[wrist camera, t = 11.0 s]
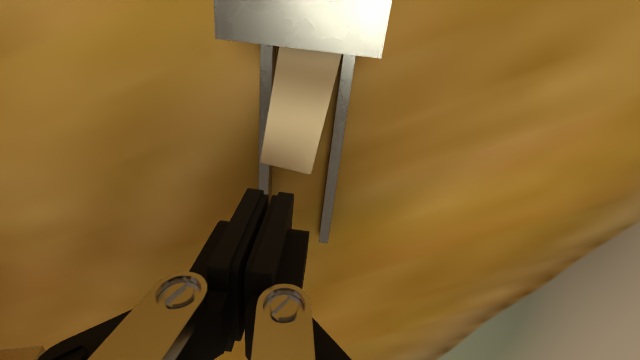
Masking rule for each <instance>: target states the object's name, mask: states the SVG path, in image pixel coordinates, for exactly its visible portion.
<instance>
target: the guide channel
mask: <svg viewBox="0 0 640 360" xmlns="http://www.w3.org/2000/svg"><path fill="white" fill-rule="evenodd" d="M276 49H277V46H273V45H265V44H261V51H260V122H259V190H263V191H264V194H268V195H269V203H270V200H271V186H272V165H268V164H264V163H260V160H261V154H262V148H263V142H264V136H265V130H266V124H267V118H268V112H269V106H270V100H271V94H272V87H273V81H274V75H275V69H276ZM355 57H356V55H348V54H343V58H342V66H341V73H340V81H339V88H338V96H337V104H336V111H335V119H334V126H333V134H332V142H331V149H330V157H329V165H328V172H327V180H326V187H325V195H324V203H323V210H322V218H321V226H320V234H319V242H322V243H328V237H329V230H330V224H331V217H332V210H333V204H334V197H335V190H336V184H337V177H338V170H339V164H340V157H341V150H342V143H343V137H344V130H345V123H346V117H347V110H348V103H349V97H350V90H351V83H352V77H353V70H354V63H355Z"/></svg>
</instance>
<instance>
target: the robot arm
mask: <svg viewBox="0 0 640 360" xmlns="http://www.w3.org/2000/svg"><path fill="white" fill-rule="evenodd" d="M293 202H294V194H292V193H283V192H279V193H278V195H277V196H276V195H272V198H271V200H270V203H269V195H268V194H264V191H263V190H259V189H251V188H248V189H247V190H246V192H245V194H244V196H243V198H242V200H241V202H240V203H239V205H238V207H237V209H236V211H235V213H234V215H233V217H232V218H231V220H230V222H229V221H219V222H218V223H217V225H216V227H215V228H214V230H213V232H212V233H211V235H210V237H209V239H208V240H207V242H206V244H205V245H204V247H203V249H202V251H201V252H200V254H199V256H198V257H197V259H196V261H195V262H194V264H193V266H192V268H191V269H190V271H189V272H177V273H174V274H171V275H168V276H166V277H165V278H163V279H161V280H160V281H159V282H157V283H156V284H155V285H154V286H153V287H152V288H151V290H150V291H149V292H148V293H147V294H146V295H145V296H144V297H143V298H142V300H141V301H140V302H139V303H138V304H137V305H136V306H135V307H134V308H133V309H132V310H130V311H128V312H126V313H123V314H121V315H119V316H117V317H114V318H112V319H110V320H108V321H106V322H103V323H101V324H99V325H97V326H95V327H92V328H90V329H88V330H86V331H83V332H81V333H79V334H77V335H75V336H72V337H70V338H68V339H66V340H64V341H62V342H60V343H58V344H56V345H54V346H53V347H51V348H49V349H48V350H45V349H44V347H43V346H35V347H24V348H14V349H3V350H0V360H214V359H215V358H217V357H218V356H220V355H221V354H223V353H224V351H229V352H231V351H232V348H233V345H234V342H235V341H241V339H242V336H243V332H244V329H245V356H246V357H247V359H248V360H351V359H350V358H349V356H348V355H347V354H346V353H345V352H344V351H343V350H342V349H341V348H340V347H339V346H338V345H337V344H336V342H335V341H334V340H333V339H332V338H331V337H330V336H329V335H328V334H327V333H326V332H325V331H324V330H323V328H322V327H321V326H320V325H319V324H318V323H317V322H316V321H315V320H314V319H313V318H312V310H311V302H310V299H309V297H308V295H307V294H306V292H305V291H303V290H302V287H303V280H304V273H305V266H306V258H307V250H308V241H309V231H302V230H294V229H291V228H292V215H293Z"/></svg>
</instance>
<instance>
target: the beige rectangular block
mask: <svg viewBox="0 0 640 360" xmlns="http://www.w3.org/2000/svg"><path fill="white" fill-rule="evenodd" d="M341 55H342V54H340V53H332V52H323V51H315V50H307V49H298V48H290V47H282V46H279V51H278V57H277V63H276V69H275V75H274V81H273V87H272V94H271V100H270V106H269V112H268V118H267V124H266V130H265V136H264V142H263V148H262V154H261V160H260V163H264V164H268V165H272V166H277V167H281V168H285V169H289V170H293V171H297V172H301V173H306V174H310V175H311V172H312V168H313V164H314V160H315V156H316V152H317V148H318V144H319V141H320V137H321V133H322V129H323V125H324V121H325V117H326V113H327V109H328V106H329V102H330V98H331V94H332V90H333V86H334V82H335V78H336V75H337V71H338V67H339V63H340V59H341Z"/></svg>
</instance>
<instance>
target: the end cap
mask: <svg viewBox="0 0 640 360" xmlns="http://www.w3.org/2000/svg"><path fill="white" fill-rule="evenodd" d="M391 3H392V0H214V19H215V39H223V40H231V41H240V42H248V43H256V44H265V45H273V46H282V47H290V48H298V49H307V50H315V51H323V52H332V53H340V54H348V55H357V56H365V57H373V58H381V56H382V51H383V46H384V40H385V35H386V29H387V24H388V19H389V13H390V8H391Z"/></svg>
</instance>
